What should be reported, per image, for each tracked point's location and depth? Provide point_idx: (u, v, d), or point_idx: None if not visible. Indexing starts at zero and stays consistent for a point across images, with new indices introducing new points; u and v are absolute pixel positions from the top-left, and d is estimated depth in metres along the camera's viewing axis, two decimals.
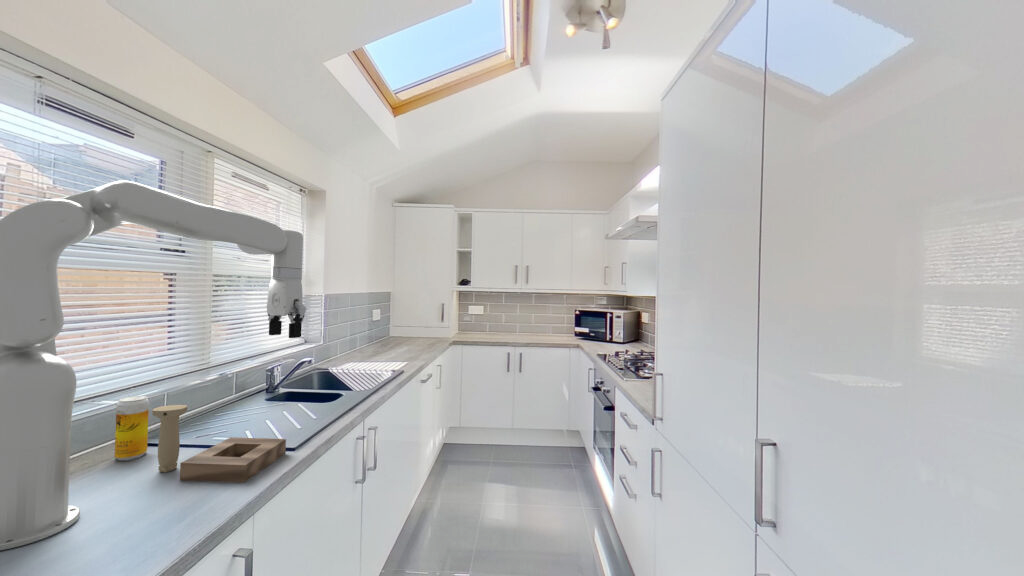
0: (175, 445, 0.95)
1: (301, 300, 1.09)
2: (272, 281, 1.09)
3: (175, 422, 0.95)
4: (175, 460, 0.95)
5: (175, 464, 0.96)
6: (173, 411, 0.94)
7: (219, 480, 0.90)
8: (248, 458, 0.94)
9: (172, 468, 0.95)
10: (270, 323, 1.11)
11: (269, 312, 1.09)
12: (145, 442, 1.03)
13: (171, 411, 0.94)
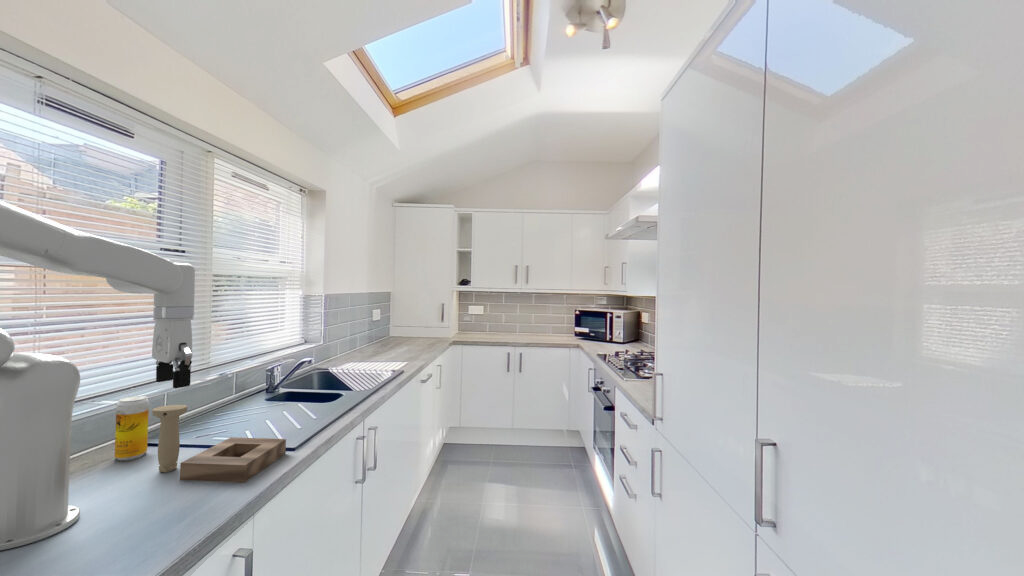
0: (175, 445, 0.95)
1: (190, 343, 0.95)
2: (156, 321, 0.95)
3: (175, 422, 0.95)
4: (175, 460, 0.95)
5: (175, 464, 0.96)
6: (173, 411, 0.94)
7: (219, 480, 0.90)
8: (248, 458, 0.94)
9: (172, 468, 0.95)
10: (157, 368, 0.97)
11: (153, 357, 0.95)
12: (145, 442, 1.03)
13: (171, 411, 0.94)
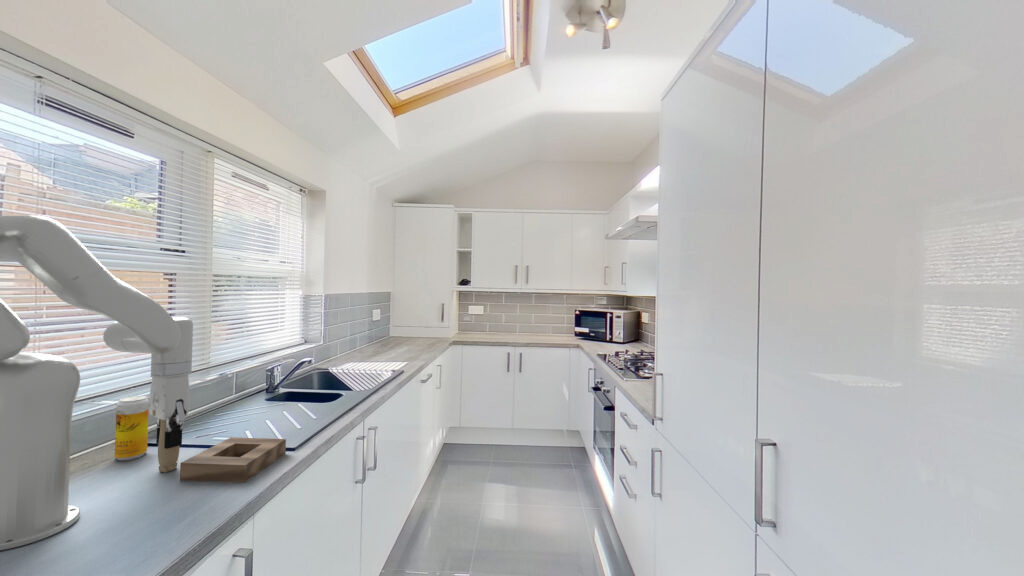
0: None
1: (187, 399, 0.94)
2: None
3: None
4: (175, 460, 0.95)
5: (175, 464, 0.96)
6: None
7: (219, 480, 0.90)
8: (248, 458, 0.94)
9: (172, 468, 0.95)
10: (158, 430, 0.95)
11: (150, 413, 0.95)
12: (145, 442, 1.03)
13: None
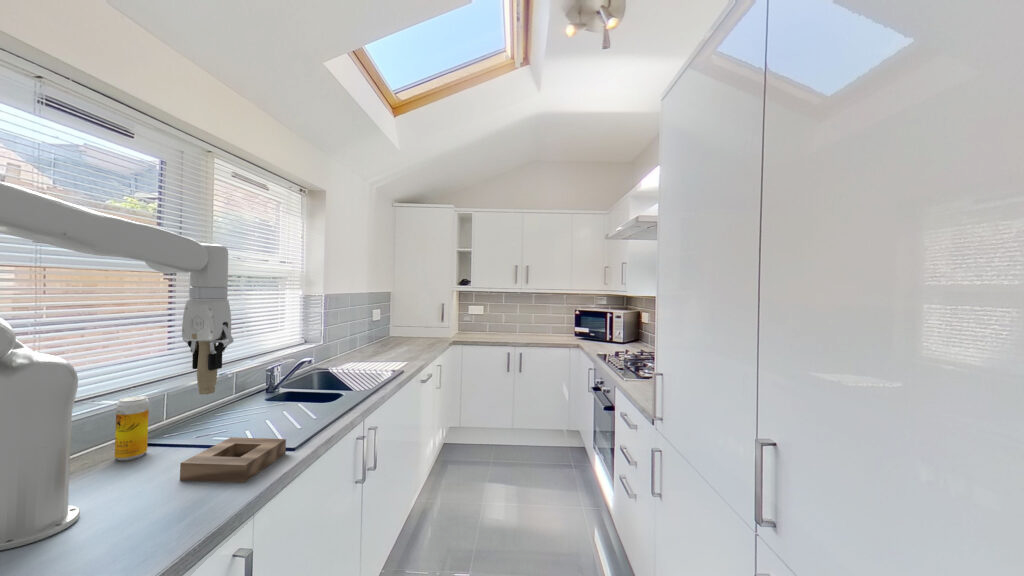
0: None
1: (230, 322, 0.98)
2: (190, 302, 0.95)
3: None
4: (215, 383, 0.98)
5: (214, 387, 0.98)
6: None
7: (219, 480, 0.90)
8: (248, 458, 0.94)
9: (213, 390, 0.97)
10: (194, 355, 0.96)
11: (186, 337, 0.95)
12: (145, 442, 1.03)
13: None
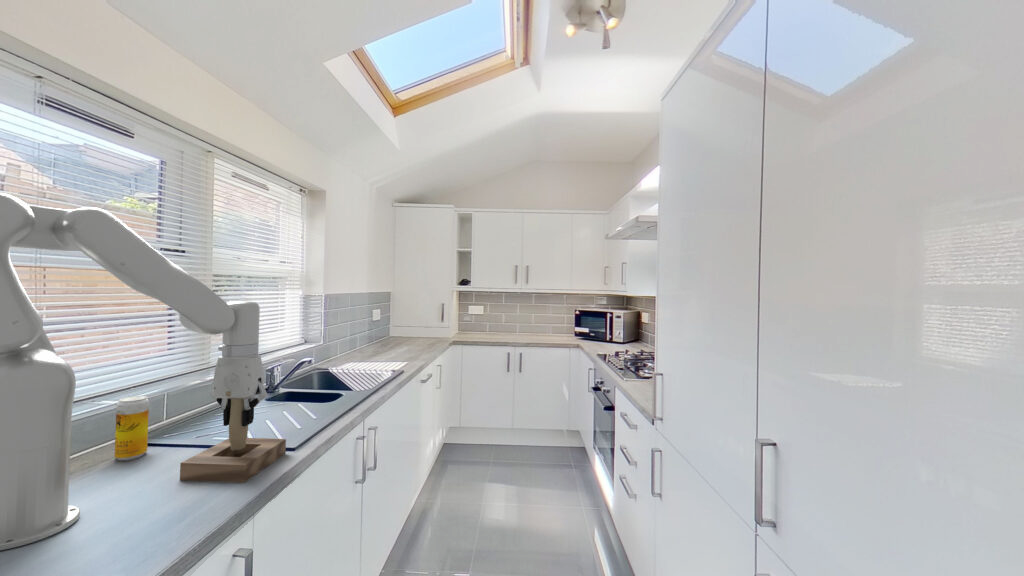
0: None
1: (263, 377, 1.00)
2: (223, 360, 0.96)
3: None
4: (246, 438, 0.99)
5: None
6: None
7: (219, 480, 0.90)
8: (248, 458, 0.94)
9: (244, 445, 0.99)
10: (226, 412, 0.97)
11: (219, 395, 0.96)
12: (145, 442, 1.03)
13: None
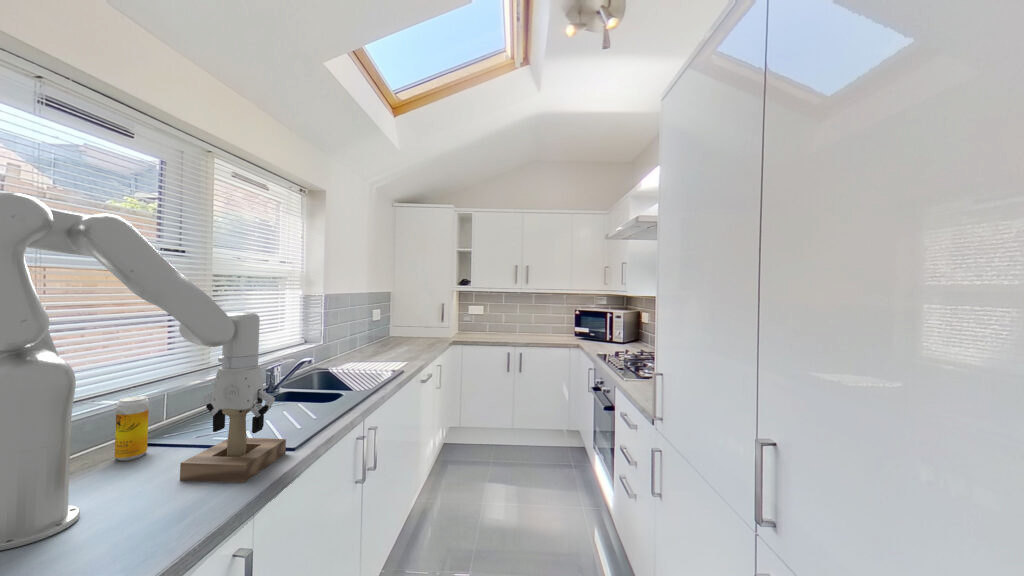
0: (246, 440, 0.99)
1: (262, 389, 1.00)
2: (223, 371, 0.96)
3: (245, 419, 0.99)
4: None
5: None
6: None
7: (219, 480, 0.90)
8: (248, 458, 0.94)
9: None
10: (215, 418, 0.97)
11: (219, 407, 0.96)
12: (145, 442, 1.03)
13: None
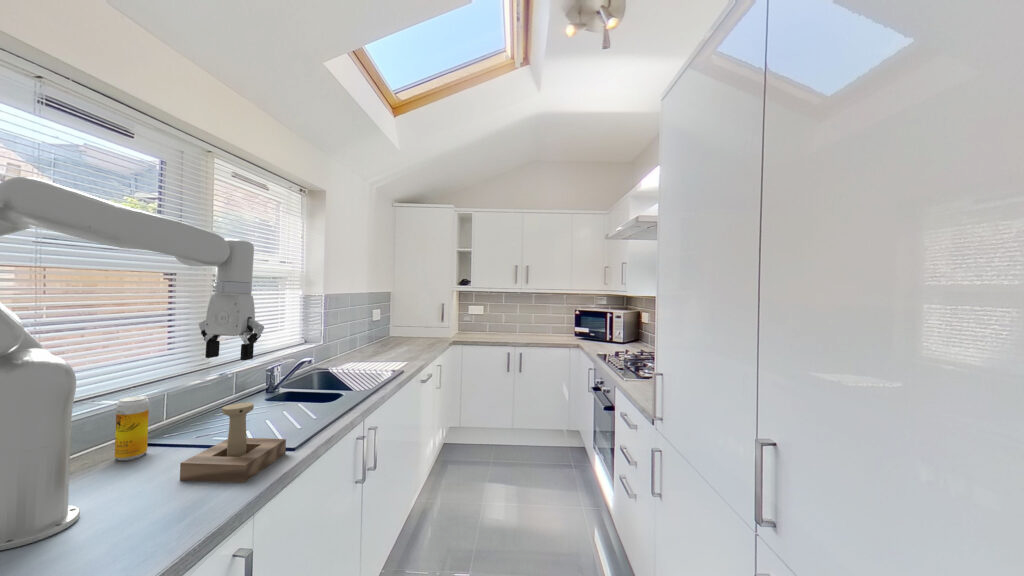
0: (246, 440, 0.99)
1: (254, 318, 0.99)
2: (215, 296, 0.96)
3: (245, 419, 0.99)
4: None
5: None
6: (248, 407, 0.98)
7: (219, 480, 0.90)
8: (248, 458, 0.94)
9: None
10: (208, 344, 0.97)
11: (210, 332, 0.96)
12: (145, 442, 1.03)
13: (246, 408, 0.98)
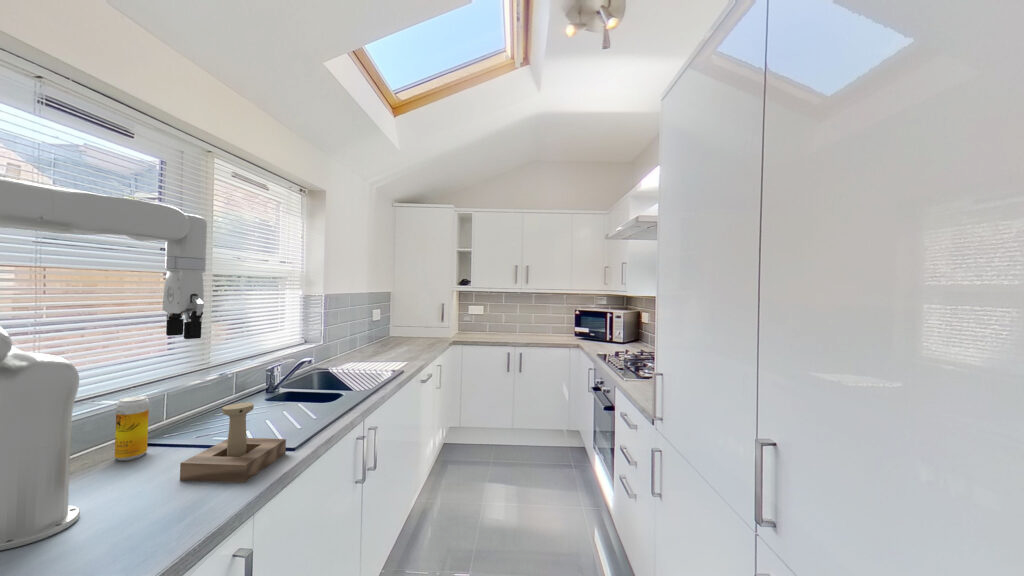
0: (246, 440, 0.99)
1: (201, 295, 0.94)
2: (168, 273, 0.94)
3: (245, 419, 0.99)
4: None
5: None
6: (248, 407, 0.98)
7: (219, 480, 0.90)
8: (248, 458, 0.94)
9: None
10: (168, 322, 0.96)
11: (164, 309, 0.94)
12: (145, 442, 1.03)
13: (246, 408, 0.98)
